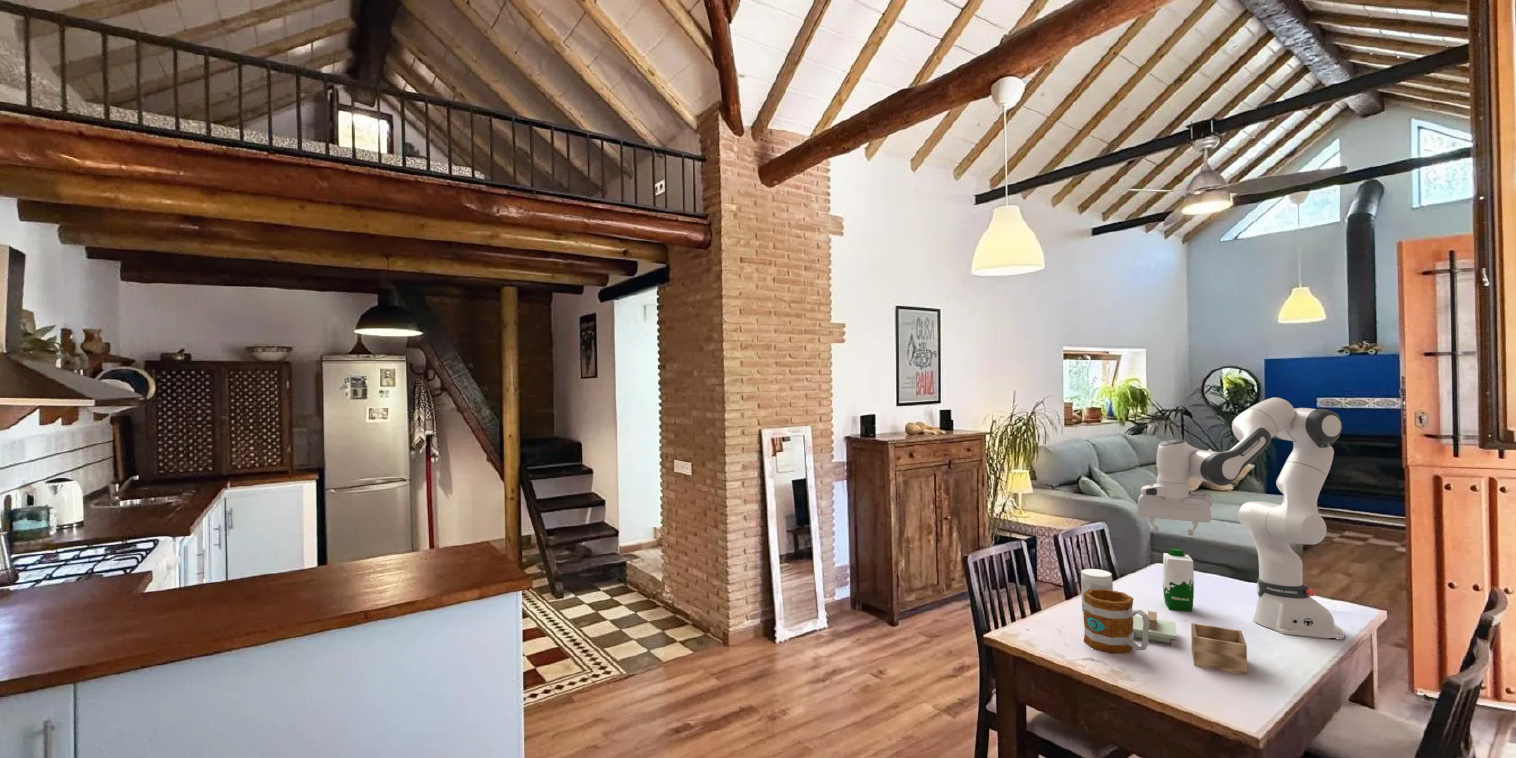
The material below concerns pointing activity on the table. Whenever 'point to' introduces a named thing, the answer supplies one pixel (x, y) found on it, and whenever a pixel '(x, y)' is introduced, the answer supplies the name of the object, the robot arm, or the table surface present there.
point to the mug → (1112, 622)
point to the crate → (1219, 648)
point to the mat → (1154, 641)
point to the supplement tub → (1095, 581)
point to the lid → (1155, 628)
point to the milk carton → (1178, 580)
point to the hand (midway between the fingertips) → (1173, 533)
